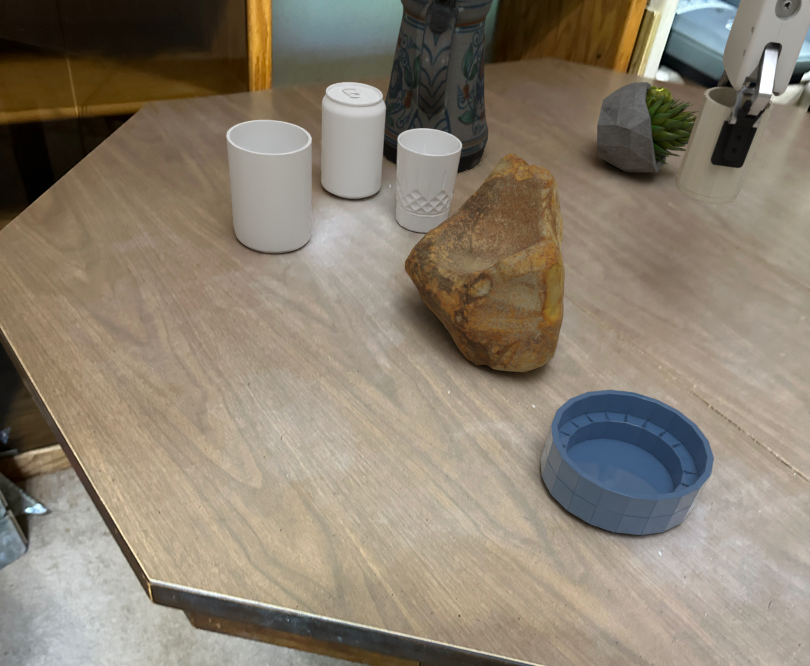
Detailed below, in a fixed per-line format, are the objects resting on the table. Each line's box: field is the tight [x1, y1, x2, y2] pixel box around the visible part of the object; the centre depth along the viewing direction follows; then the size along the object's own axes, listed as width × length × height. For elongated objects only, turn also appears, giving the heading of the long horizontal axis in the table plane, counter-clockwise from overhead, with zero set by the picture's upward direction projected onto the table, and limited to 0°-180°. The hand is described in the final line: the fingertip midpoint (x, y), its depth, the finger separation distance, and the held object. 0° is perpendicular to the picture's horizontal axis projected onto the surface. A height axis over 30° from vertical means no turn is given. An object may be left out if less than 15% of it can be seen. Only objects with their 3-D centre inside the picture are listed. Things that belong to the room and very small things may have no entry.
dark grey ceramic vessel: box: [383, 0, 494, 174], centre depth 105 cm, size 16×19×25 cm
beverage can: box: [320, 81, 386, 200], centre depth 101 cm, size 8×8×12 cm
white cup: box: [395, 128, 462, 234], centre depth 97 cm, size 8×8×10 cm
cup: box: [674, 86, 775, 204], centre depth 80 cm, size 7×7×9 cm
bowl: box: [539, 389, 715, 536], centre depth 69 cm, size 14×14×5 cm
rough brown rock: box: [404, 152, 566, 373], centre depth 81 cm, size 23×17×15 cm
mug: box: [225, 119, 313, 254], centre depth 91 cm, size 10×12×12 cm
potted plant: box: [596, 81, 699, 174], centre depth 114 cm, size 12×13×15 cm
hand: (721, 148), depth 81 cm, fingers closed on cup, 7 cm apart
